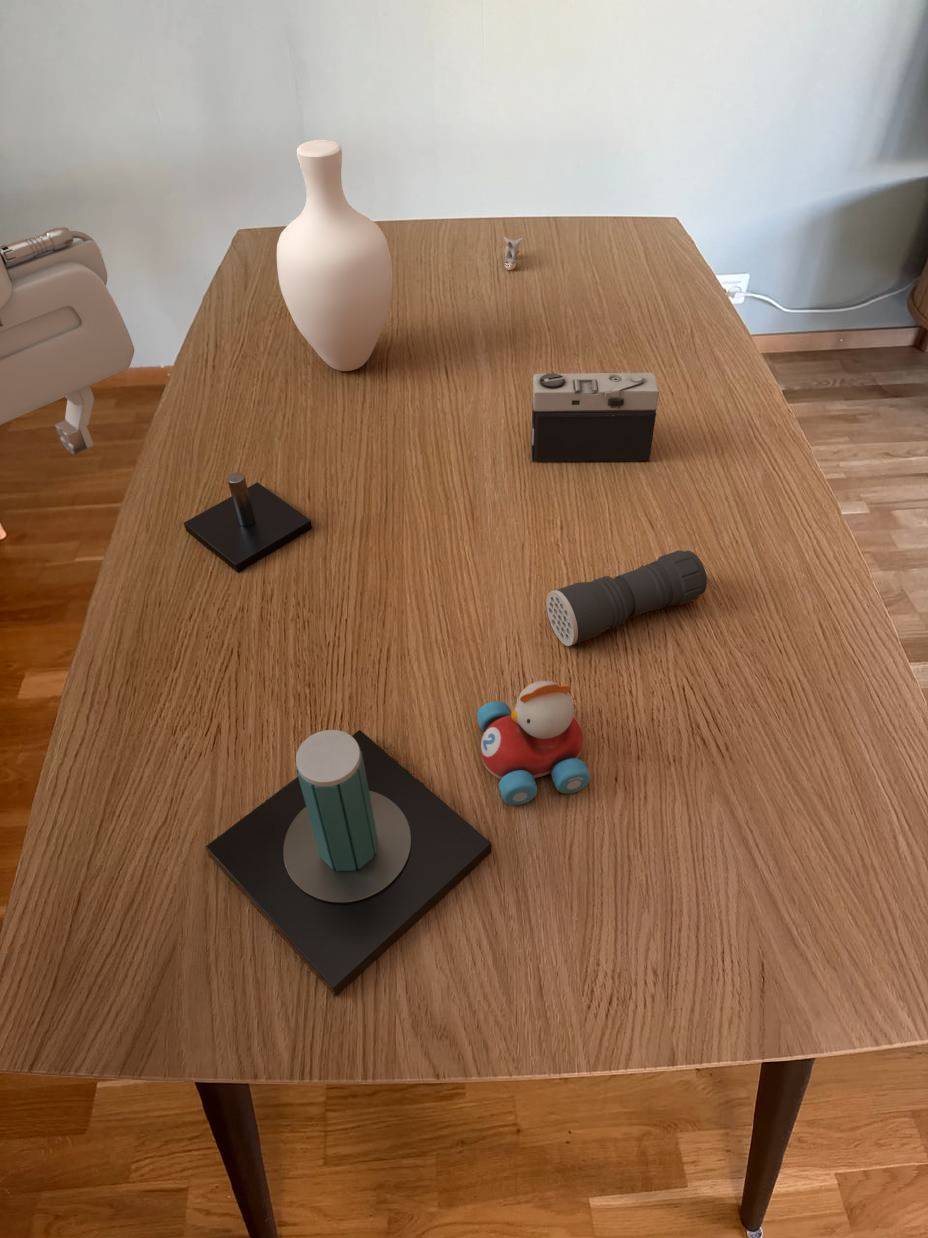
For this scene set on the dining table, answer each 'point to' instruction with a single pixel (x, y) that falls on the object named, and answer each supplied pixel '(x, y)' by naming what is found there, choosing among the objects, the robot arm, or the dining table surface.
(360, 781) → the teal ribbed pillar
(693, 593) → the flashlight
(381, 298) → the vase
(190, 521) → the black peg stand
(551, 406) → the camera
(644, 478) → the dining table surface
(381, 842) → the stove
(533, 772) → the toy car
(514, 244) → the dog figurine
